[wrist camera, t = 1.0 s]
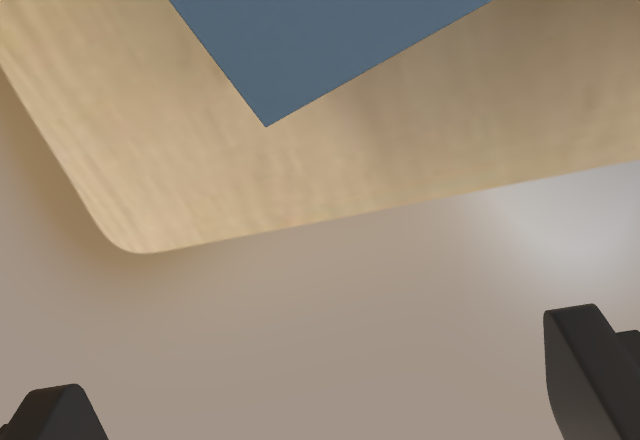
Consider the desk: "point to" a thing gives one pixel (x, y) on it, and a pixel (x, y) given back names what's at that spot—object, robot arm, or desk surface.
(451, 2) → the lid
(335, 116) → the desk surface
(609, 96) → the desk surface
